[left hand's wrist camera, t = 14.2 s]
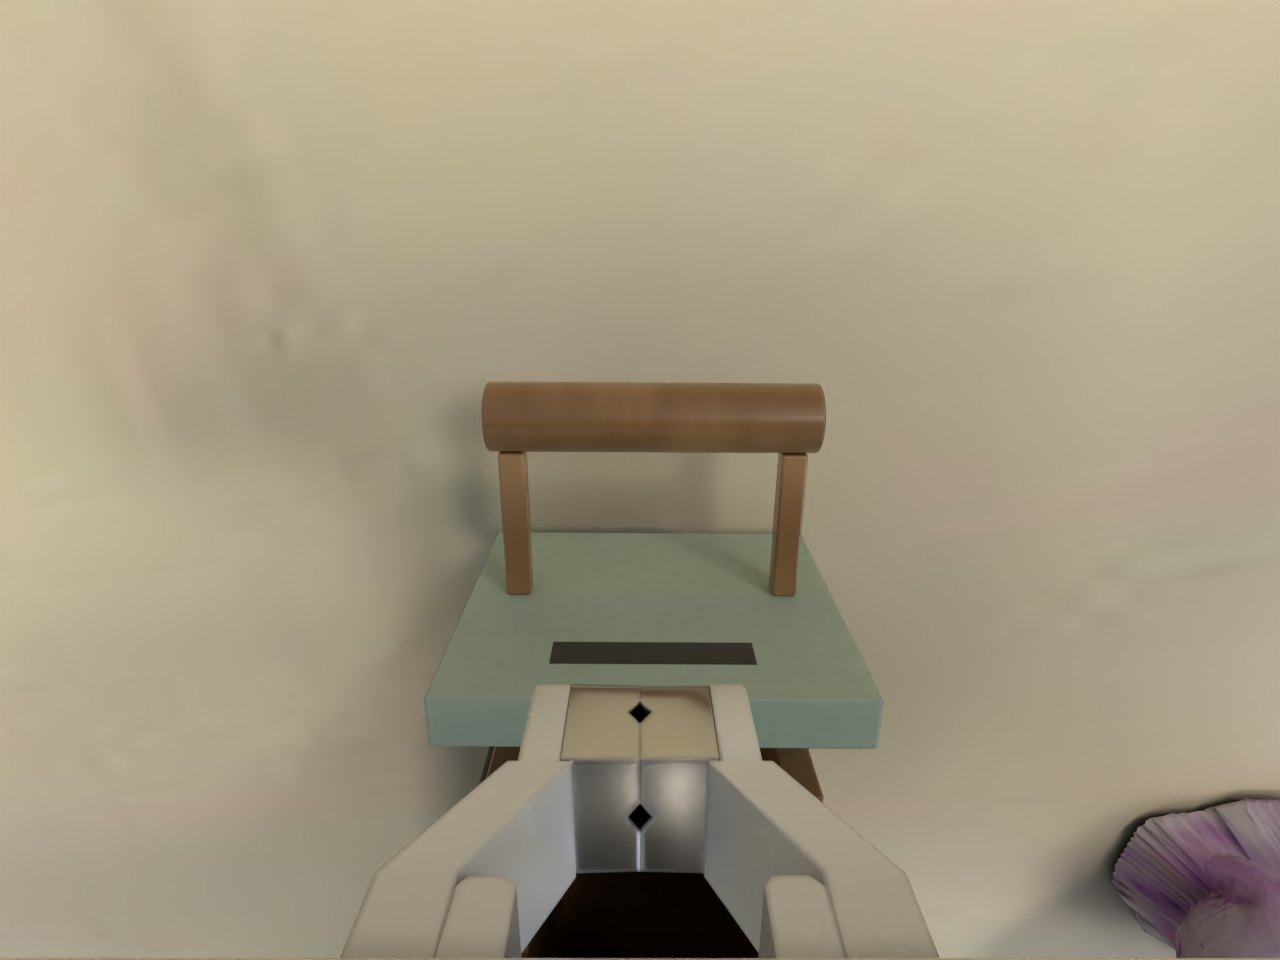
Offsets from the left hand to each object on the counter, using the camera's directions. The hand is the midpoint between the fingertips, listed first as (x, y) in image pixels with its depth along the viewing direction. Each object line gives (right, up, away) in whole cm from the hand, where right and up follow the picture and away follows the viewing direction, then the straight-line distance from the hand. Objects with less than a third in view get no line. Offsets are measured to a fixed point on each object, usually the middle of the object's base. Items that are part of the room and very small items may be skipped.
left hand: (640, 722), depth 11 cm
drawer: (0, -4, +13) cm, 14 cm away
